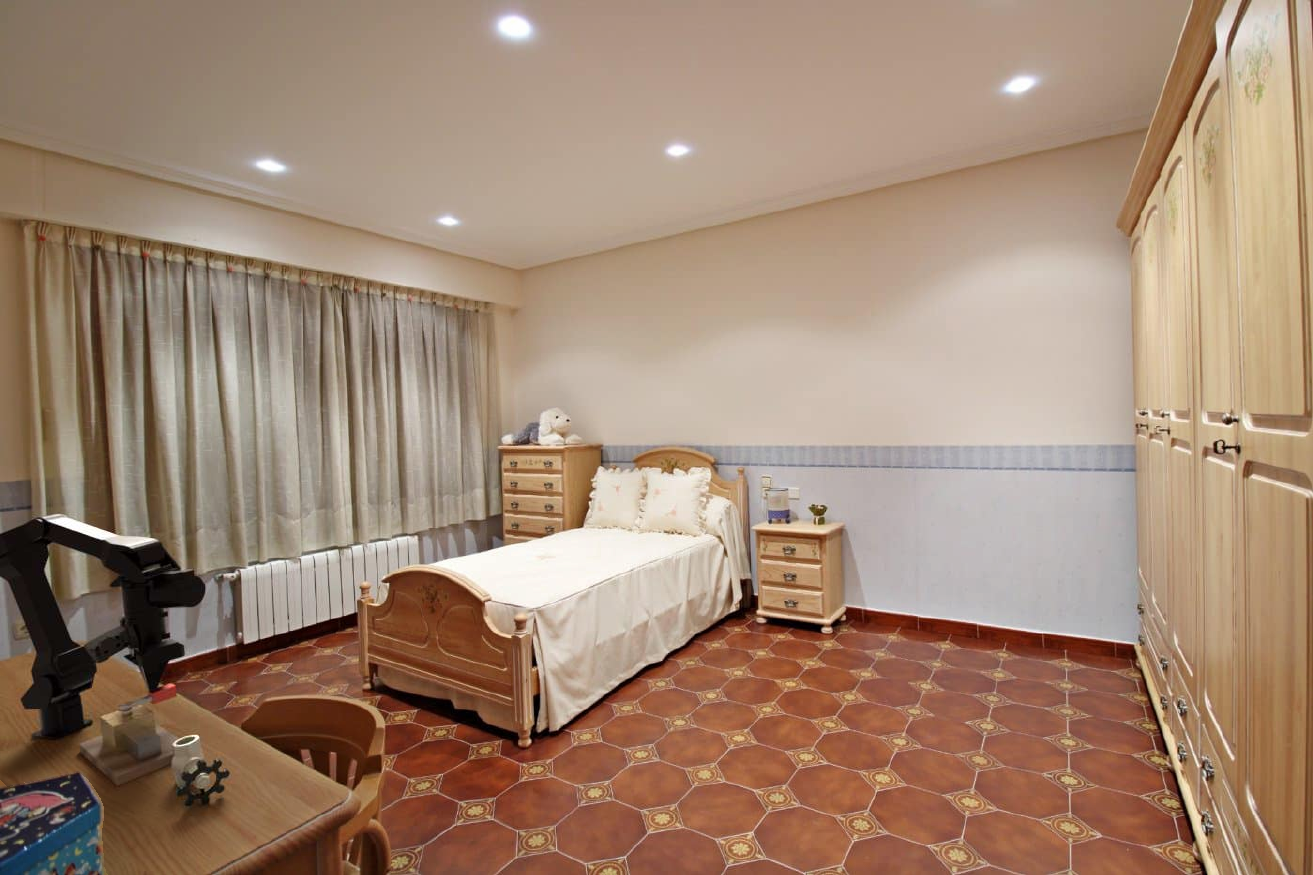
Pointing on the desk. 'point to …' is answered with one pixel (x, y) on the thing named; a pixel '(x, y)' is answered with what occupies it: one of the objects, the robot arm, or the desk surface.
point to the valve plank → (127, 758)
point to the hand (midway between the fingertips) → (152, 690)
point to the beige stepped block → (131, 732)
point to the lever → (152, 697)
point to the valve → (194, 770)
